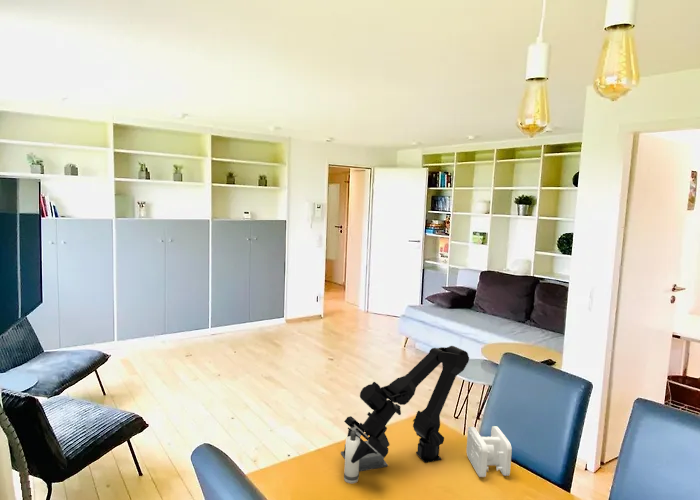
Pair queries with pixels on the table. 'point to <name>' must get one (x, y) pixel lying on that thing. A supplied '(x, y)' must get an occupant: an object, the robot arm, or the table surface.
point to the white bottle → (351, 468)
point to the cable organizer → (489, 451)
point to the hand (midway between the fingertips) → (348, 458)
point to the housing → (370, 461)
